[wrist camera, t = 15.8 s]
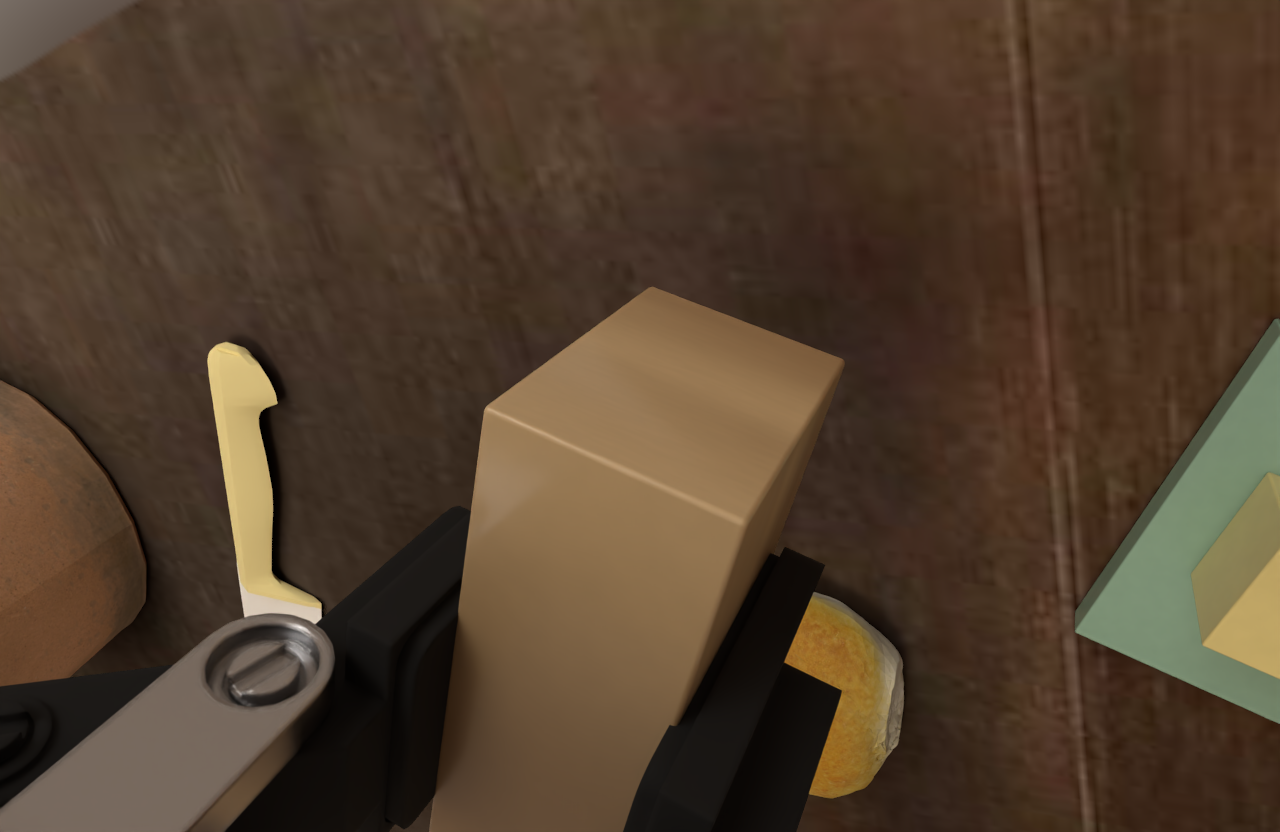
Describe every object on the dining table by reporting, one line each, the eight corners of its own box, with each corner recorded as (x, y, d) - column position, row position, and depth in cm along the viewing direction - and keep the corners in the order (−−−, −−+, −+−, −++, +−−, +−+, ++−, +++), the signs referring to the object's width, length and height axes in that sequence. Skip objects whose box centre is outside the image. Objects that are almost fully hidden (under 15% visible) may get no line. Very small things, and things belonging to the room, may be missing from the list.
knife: (341, 836, 54) (272, 808, 55) (318, 360, 36) (214, 329, 36) (329, 854, 53) (258, 826, 53) (299, 374, 35) (192, 342, 35)
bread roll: (657, 548, 32) (608, 614, 29) (911, 592, 28) (888, 674, 25) (675, 719, 35) (633, 795, 32) (903, 779, 32) (882, 872, 28)
